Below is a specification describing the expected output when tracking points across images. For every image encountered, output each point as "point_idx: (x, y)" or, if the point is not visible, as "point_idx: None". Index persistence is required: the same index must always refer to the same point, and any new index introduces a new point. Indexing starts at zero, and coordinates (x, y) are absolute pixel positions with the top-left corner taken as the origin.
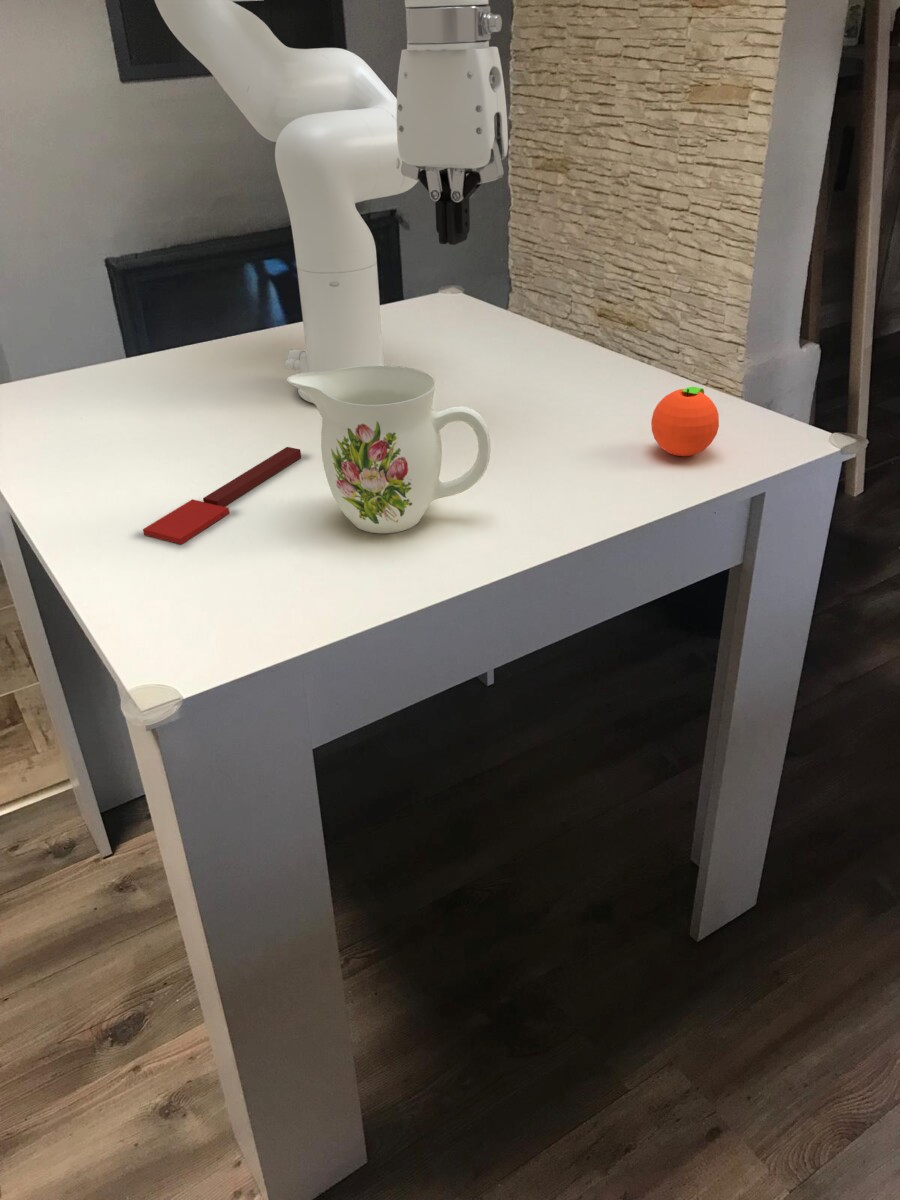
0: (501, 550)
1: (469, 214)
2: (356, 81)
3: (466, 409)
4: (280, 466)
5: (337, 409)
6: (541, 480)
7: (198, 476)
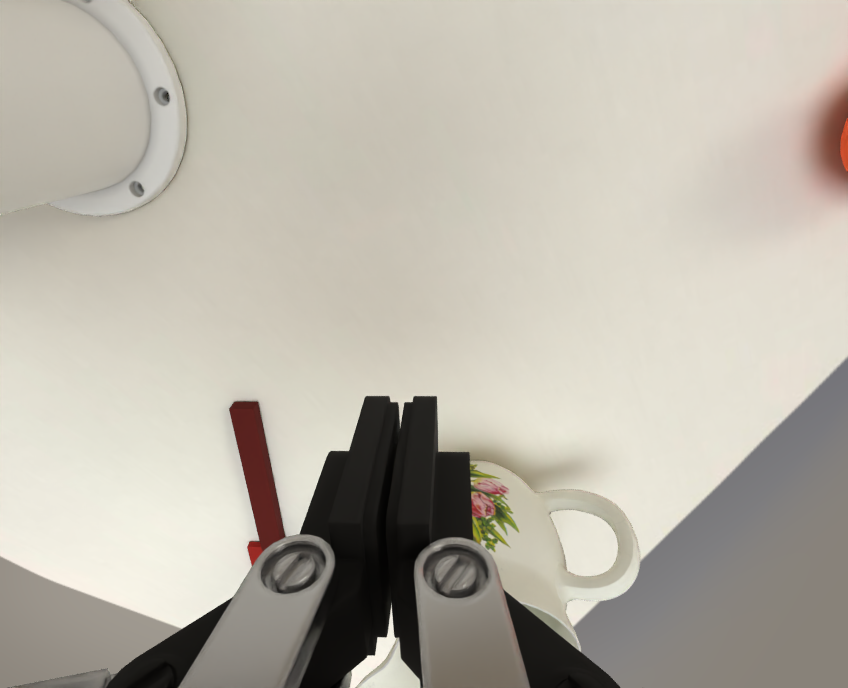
0: (639, 507)
1: (471, 498)
2: None
3: (618, 595)
4: (264, 446)
5: None
6: (635, 333)
7: (188, 489)
